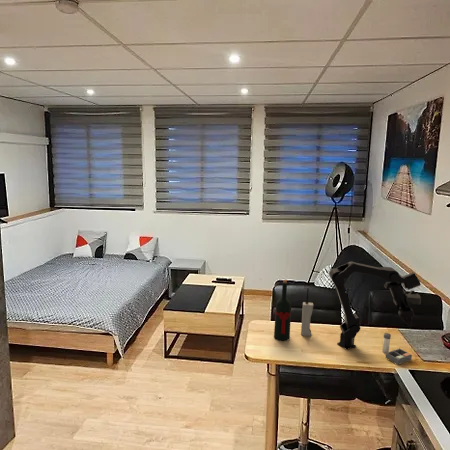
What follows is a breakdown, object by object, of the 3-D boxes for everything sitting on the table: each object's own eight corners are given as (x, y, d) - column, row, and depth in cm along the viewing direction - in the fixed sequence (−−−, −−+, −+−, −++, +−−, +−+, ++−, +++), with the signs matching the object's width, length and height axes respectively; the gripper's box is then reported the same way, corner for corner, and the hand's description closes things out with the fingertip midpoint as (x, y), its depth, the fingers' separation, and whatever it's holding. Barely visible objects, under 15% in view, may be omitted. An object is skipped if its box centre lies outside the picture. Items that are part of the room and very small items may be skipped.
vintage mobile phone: (311, 336, 196) (314, 289, 191) (301, 335, 197) (304, 289, 192) (310, 333, 199) (314, 287, 195) (301, 332, 200) (304, 286, 196)
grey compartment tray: (397, 364, 171) (398, 359, 171) (385, 357, 177) (386, 352, 176) (411, 359, 176) (412, 354, 175) (398, 353, 181) (399, 347, 181)
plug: (386, 354, 180) (388, 336, 178) (380, 351, 183) (382, 333, 181) (390, 352, 182) (392, 335, 180) (384, 349, 184) (386, 332, 182)
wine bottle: (274, 342, 188) (277, 284, 183) (273, 333, 198) (276, 277, 193) (290, 343, 188) (294, 285, 182) (288, 334, 198) (292, 278, 192)
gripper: (420, 296, 170) (432, 327, 172) (411, 280, 187) (421, 308, 190) (394, 303, 173) (406, 333, 176) (388, 287, 191) (398, 314, 193)
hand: (408, 321), depth 183 cm, fingers open, 9 cm apart
